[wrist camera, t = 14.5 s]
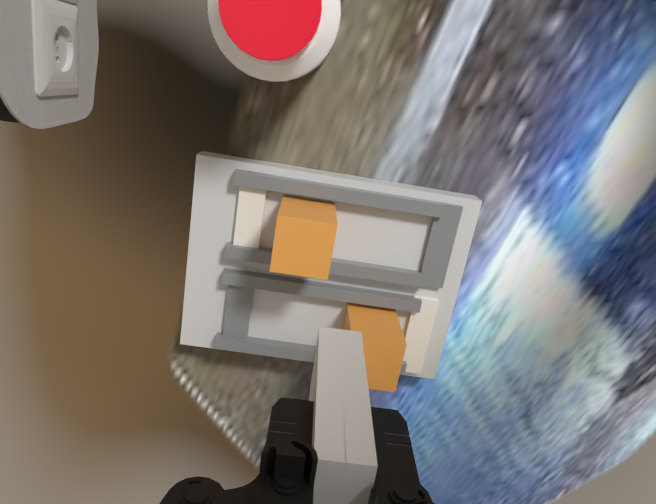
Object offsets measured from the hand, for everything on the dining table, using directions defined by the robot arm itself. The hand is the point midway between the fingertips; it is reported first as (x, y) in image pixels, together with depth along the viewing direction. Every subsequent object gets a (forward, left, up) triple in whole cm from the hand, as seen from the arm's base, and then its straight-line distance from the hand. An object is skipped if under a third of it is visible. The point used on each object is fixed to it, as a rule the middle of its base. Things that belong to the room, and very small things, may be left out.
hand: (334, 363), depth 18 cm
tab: (-5, +9, -23) cm, 25 cm away
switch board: (-1, +5, -25) cm, 26 cm away
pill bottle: (+5, -13, -25) cm, 29 cm away
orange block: (+1, +1, -23) cm, 23 cm away
